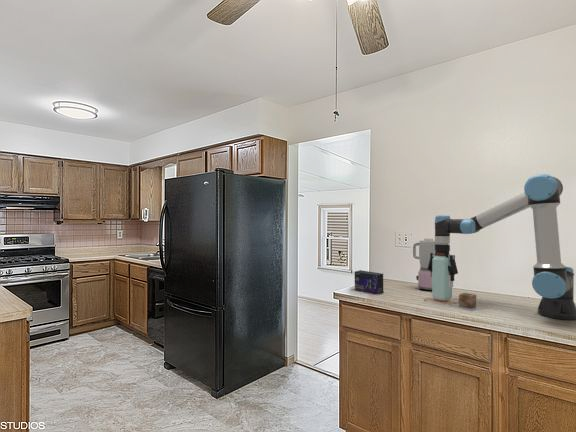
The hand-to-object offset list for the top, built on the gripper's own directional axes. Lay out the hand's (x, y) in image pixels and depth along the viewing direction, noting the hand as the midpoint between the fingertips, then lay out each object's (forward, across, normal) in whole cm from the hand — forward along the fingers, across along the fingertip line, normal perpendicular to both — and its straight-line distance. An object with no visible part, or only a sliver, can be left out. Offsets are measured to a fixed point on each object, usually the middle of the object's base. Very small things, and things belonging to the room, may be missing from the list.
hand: (442, 285), depth 191 cm
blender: (+9, +27, -19) cm, 34 cm away
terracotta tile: (+9, 0, 0) cm, 9 cm away
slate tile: (+9, -15, 0) cm, 17 cm away
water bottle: (+7, 0, 0) cm, 7 cm away
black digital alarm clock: (+9, +38, +18) cm, 43 cm away
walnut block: (+8, -15, 0) cm, 17 cm away
